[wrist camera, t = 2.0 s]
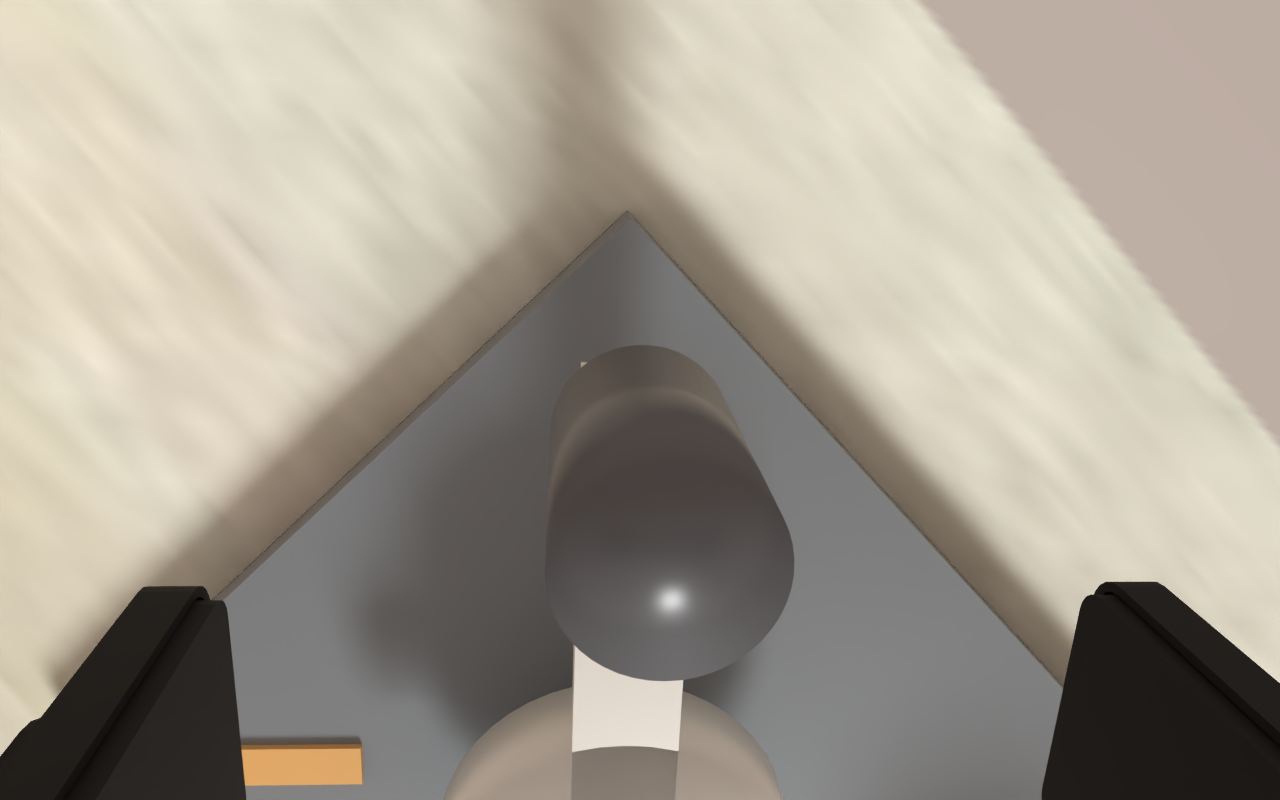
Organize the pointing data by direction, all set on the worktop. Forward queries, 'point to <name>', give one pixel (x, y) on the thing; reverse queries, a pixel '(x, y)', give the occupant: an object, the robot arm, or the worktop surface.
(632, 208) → the worktop surface
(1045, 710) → the post base
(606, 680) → the lever handle
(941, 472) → the worktop surface
